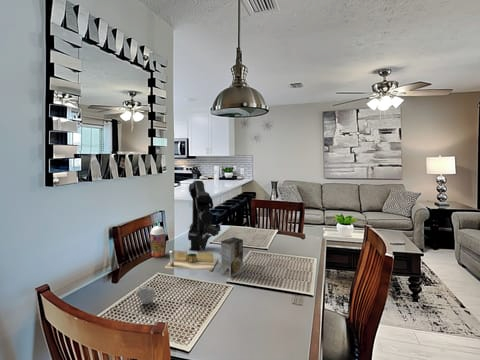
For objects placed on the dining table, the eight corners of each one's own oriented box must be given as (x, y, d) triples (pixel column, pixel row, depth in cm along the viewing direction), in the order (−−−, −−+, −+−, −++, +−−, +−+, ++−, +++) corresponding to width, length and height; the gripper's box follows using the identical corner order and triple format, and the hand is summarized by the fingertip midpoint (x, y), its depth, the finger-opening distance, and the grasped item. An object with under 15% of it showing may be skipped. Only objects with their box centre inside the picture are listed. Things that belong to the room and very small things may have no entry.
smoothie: (149, 259, 155) (149, 223, 154) (150, 254, 163) (149, 220, 162) (165, 258, 157) (165, 222, 156) (165, 253, 165) (165, 219, 164)
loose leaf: (198, 260, 152) (198, 251, 152) (213, 260, 152) (213, 252, 152) (197, 261, 151) (197, 252, 151) (212, 261, 150) (212, 253, 150)
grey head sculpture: (133, 303, 108) (132, 285, 107) (150, 297, 113) (150, 280, 112) (140, 309, 103) (140, 291, 103) (158, 303, 108) (158, 285, 108)
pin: (170, 264, 146) (170, 250, 146) (175, 264, 146) (175, 250, 146) (168, 266, 144) (168, 251, 143) (173, 266, 143) (173, 251, 143)
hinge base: (175, 258, 156) (175, 249, 155) (198, 259, 154) (198, 250, 154) (171, 261, 150) (171, 252, 150) (195, 263, 149) (195, 253, 149)
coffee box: (233, 268, 143) (233, 236, 142) (243, 272, 139) (243, 239, 138) (220, 274, 136) (220, 240, 135) (230, 277, 132) (231, 243, 131)
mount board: (174, 258, 158) (174, 256, 158) (218, 260, 156) (218, 258, 156) (164, 268, 142) (164, 267, 142) (211, 271, 140) (211, 270, 140)
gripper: (207, 224, 133) (207, 257, 134) (226, 217, 150) (226, 247, 151) (187, 222, 138) (187, 254, 139) (208, 215, 155) (208, 244, 156)
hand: (203, 249), depth 146 cm, fingers closed
